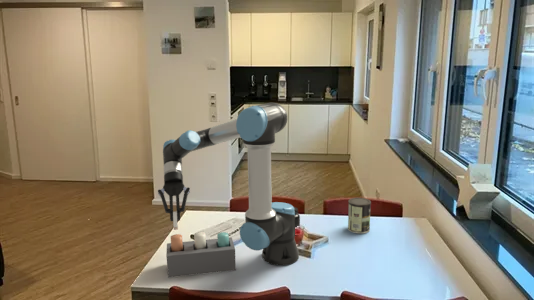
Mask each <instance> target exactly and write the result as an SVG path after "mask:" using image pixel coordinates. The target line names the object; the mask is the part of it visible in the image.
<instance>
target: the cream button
mask: <svg viewBox="0 0 534 300" xmlns="http://www.w3.org/2000/svg"><path fill="white" fill-rule="evenodd" d="M206 235H207V234H206V232H204V231H203V232H202V231H200V232H199V231H198V232H195V233H194V234H193V238H194V240H193V241H195V250H199V249H206V240H207V237H206Z"/></svg>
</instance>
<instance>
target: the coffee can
mask: <svg viewBox="0 0 534 300" xmlns="http://www.w3.org/2000/svg"><path fill="white" fill-rule="evenodd" d="M371 205H372V201H371V200H370V199H368V198H365V197H353V198H350V199H348V215H347V216H348V217H347V218H348V219H347V220H348V221H347V223H348V224H347V230H348V231H349V232H351V233H354V234H367V233H369V232H370V231H371V228H370V227H371Z"/></svg>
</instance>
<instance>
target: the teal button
mask: <svg viewBox="0 0 534 300" xmlns="http://www.w3.org/2000/svg"><path fill="white" fill-rule="evenodd" d="M229 238H230V237H229V233H228V232H225V231H222V232H219V233H217V238H216V239H218V248H219V247H229Z"/></svg>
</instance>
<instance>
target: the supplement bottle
mask: <svg viewBox="0 0 534 300" xmlns="http://www.w3.org/2000/svg"><path fill="white" fill-rule="evenodd" d="M293 207H294V211H295V227H297V226H300V225H301V224H300V223H301V216H300V214H299V209H298V207H295V206H293ZM300 227H301V226H300Z"/></svg>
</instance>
